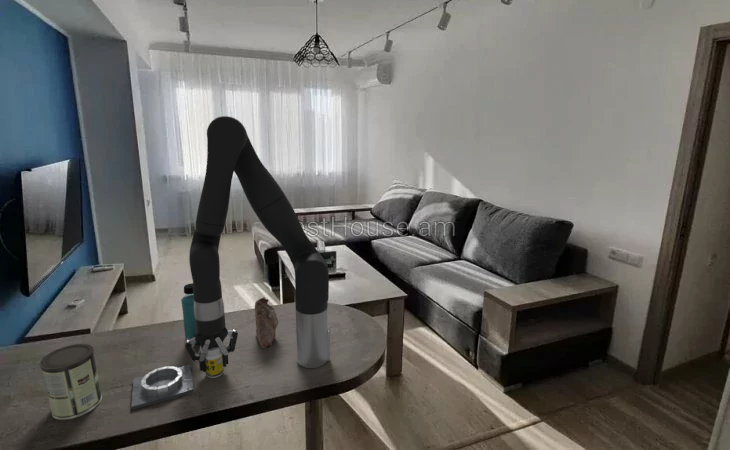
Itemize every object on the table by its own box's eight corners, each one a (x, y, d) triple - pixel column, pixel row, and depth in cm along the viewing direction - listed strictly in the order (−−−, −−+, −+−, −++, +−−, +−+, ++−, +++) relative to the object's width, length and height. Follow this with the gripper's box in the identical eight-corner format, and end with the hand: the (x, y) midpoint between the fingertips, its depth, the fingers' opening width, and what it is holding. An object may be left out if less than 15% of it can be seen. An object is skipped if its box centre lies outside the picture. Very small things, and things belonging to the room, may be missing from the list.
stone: (249, 295, 124) (252, 311, 116) (273, 291, 127) (277, 305, 118) (256, 333, 129) (259, 351, 121) (278, 328, 132) (282, 345, 123)
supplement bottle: (202, 376, 107) (199, 349, 105) (214, 366, 111) (211, 340, 109) (216, 380, 105) (213, 353, 103) (227, 370, 110) (225, 344, 107)
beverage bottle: (202, 348, 120) (196, 289, 115) (181, 348, 120) (174, 289, 115) (211, 337, 126) (206, 281, 121) (191, 336, 126) (185, 280, 121)
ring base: (190, 367, 111) (189, 358, 110) (193, 392, 100) (192, 382, 100) (133, 381, 104) (132, 372, 103) (131, 410, 94) (130, 399, 93)
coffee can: (70, 391, 100) (61, 343, 96) (111, 391, 100) (102, 343, 97) (39, 420, 90) (27, 368, 86) (84, 420, 90) (74, 368, 87)
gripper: (181, 325, 97) (187, 383, 101) (239, 313, 104) (243, 368, 108) (179, 312, 103) (185, 367, 108) (234, 302, 110) (238, 354, 114)
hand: (214, 367), depth 108 cm, fingers closed on supplement bottle, 4 cm apart
